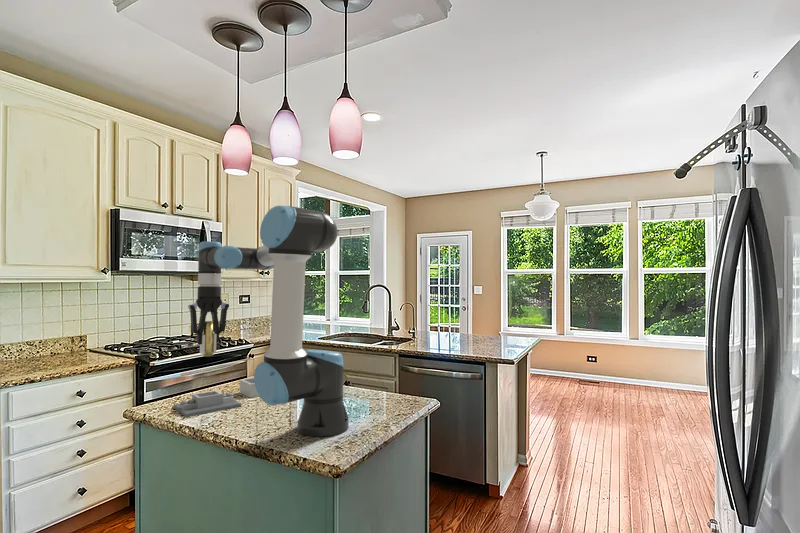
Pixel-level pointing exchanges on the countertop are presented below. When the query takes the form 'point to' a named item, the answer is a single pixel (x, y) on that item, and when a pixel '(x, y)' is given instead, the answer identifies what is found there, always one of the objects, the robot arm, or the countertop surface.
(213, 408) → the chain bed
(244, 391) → the tray
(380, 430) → the countertop surface
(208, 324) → the pin
